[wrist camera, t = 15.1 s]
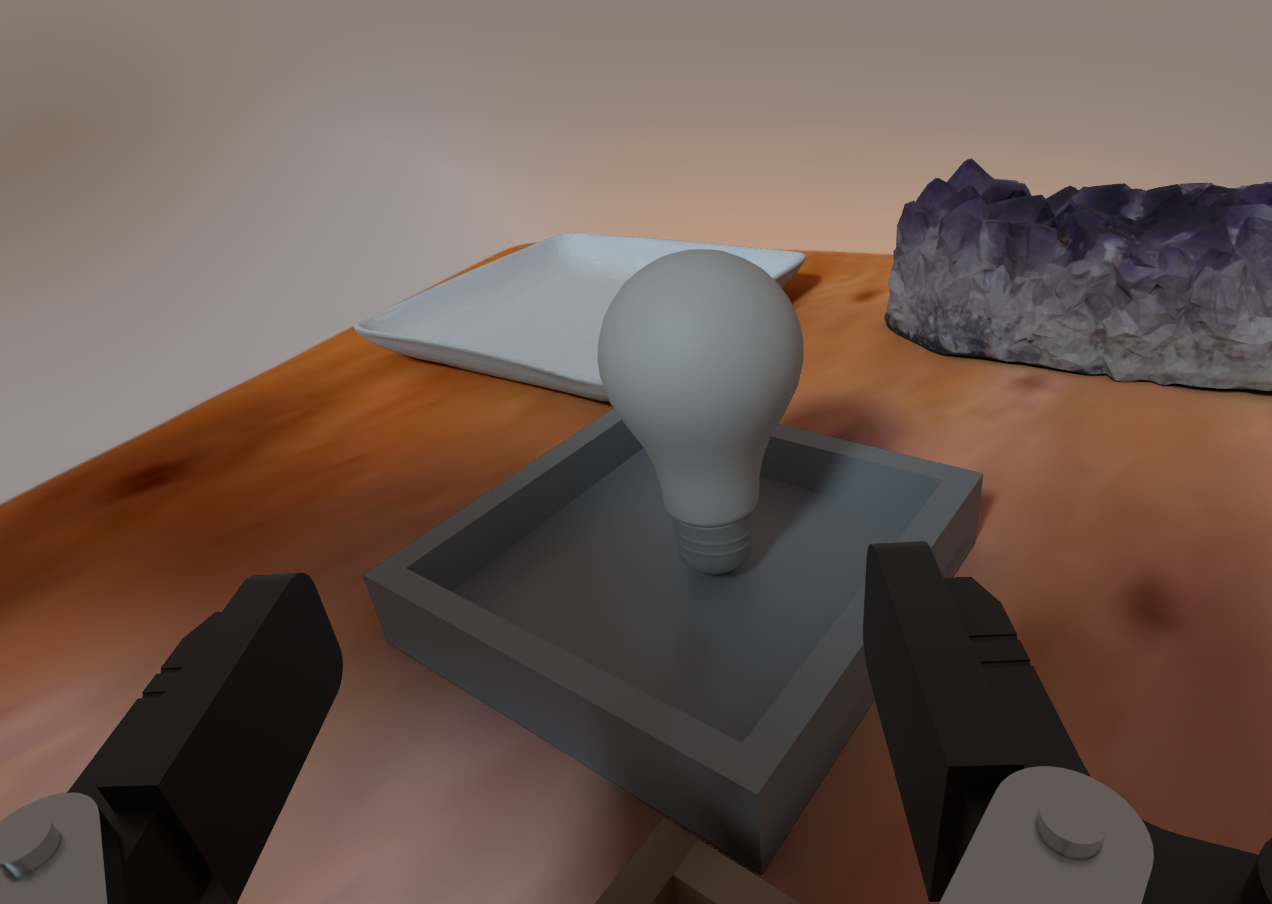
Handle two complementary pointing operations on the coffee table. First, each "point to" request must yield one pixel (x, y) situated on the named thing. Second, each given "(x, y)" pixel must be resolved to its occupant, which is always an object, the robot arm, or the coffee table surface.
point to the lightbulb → (703, 389)
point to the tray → (675, 618)
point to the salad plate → (537, 309)
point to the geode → (1091, 278)
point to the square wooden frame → (686, 875)
